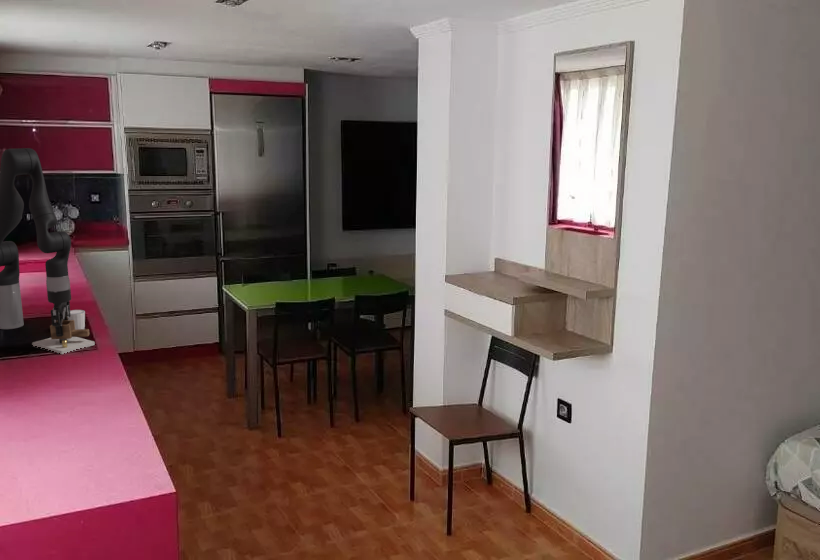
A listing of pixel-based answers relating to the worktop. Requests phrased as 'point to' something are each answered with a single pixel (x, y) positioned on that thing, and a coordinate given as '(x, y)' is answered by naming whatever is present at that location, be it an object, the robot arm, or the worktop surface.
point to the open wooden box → (69, 331)
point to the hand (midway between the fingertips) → (62, 333)
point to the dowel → (64, 343)
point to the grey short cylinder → (78, 318)
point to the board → (57, 346)
